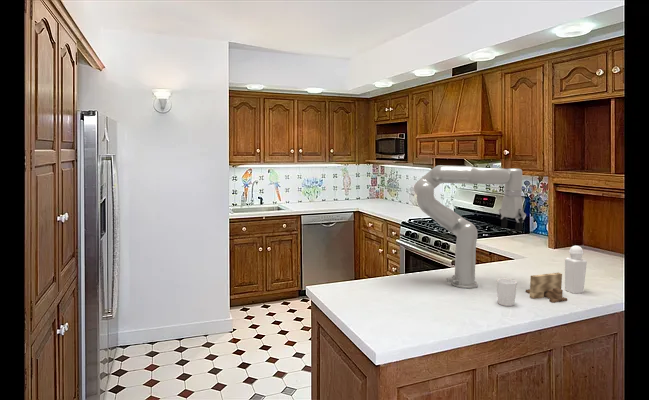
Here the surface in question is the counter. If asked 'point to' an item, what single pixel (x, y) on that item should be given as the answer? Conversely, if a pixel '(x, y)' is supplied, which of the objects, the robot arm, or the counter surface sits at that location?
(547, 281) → the slotted board
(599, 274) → the counter surface
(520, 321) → the counter surface
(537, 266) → the counter surface
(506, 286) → the white cup
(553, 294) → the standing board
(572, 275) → the white tall bottle shape
